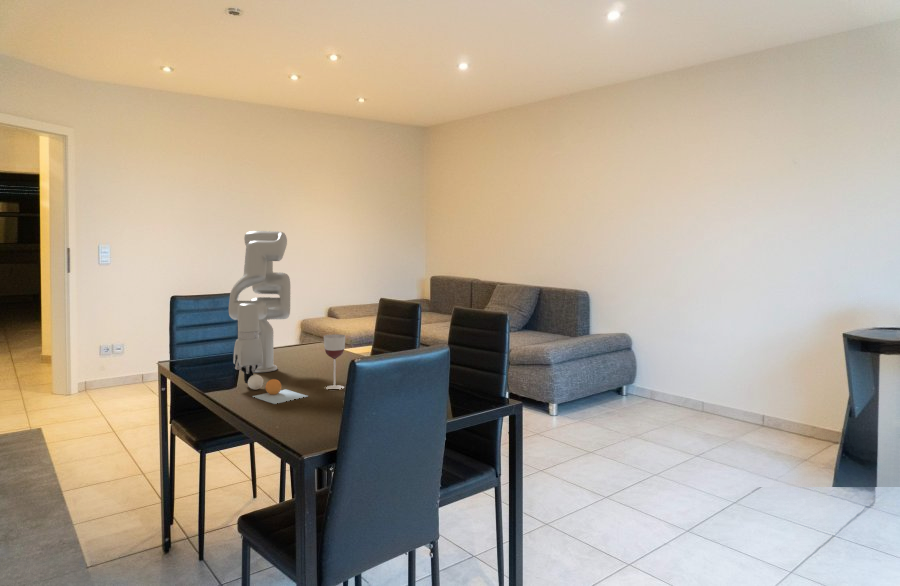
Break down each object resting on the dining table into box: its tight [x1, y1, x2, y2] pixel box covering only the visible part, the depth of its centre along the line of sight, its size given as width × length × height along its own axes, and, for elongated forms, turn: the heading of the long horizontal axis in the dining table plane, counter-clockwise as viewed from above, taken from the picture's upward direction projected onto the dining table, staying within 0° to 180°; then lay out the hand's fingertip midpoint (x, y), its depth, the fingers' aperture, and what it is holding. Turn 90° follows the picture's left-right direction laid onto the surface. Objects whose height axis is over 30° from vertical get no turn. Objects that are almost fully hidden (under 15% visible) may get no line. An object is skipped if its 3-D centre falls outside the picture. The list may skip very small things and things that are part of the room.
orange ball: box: [265, 378, 282, 395], centre depth 211 cm, size 6×6×6 cm
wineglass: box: [323, 333, 346, 390], centre depth 222 cm, size 8×9×20 cm
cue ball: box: [247, 374, 264, 391], centre depth 217 cm, size 6×6×6 cm
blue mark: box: [252, 389, 309, 405], centre depth 208 cm, size 14×14×1 cm
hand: (248, 382), depth 221 cm, fingers closed
